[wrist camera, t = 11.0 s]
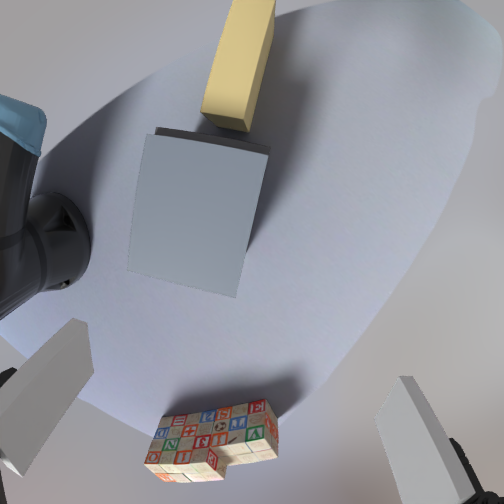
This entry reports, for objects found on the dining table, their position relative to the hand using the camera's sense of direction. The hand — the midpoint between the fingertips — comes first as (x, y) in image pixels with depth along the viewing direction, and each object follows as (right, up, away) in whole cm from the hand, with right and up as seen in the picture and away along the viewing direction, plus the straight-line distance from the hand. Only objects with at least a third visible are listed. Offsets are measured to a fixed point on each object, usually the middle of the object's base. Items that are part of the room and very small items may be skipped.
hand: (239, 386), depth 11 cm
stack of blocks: (-6, -25, +37) cm, 45 cm away
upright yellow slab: (0, +27, +21) cm, 34 cm away
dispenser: (-4, +12, +25) cm, 28 cm away
